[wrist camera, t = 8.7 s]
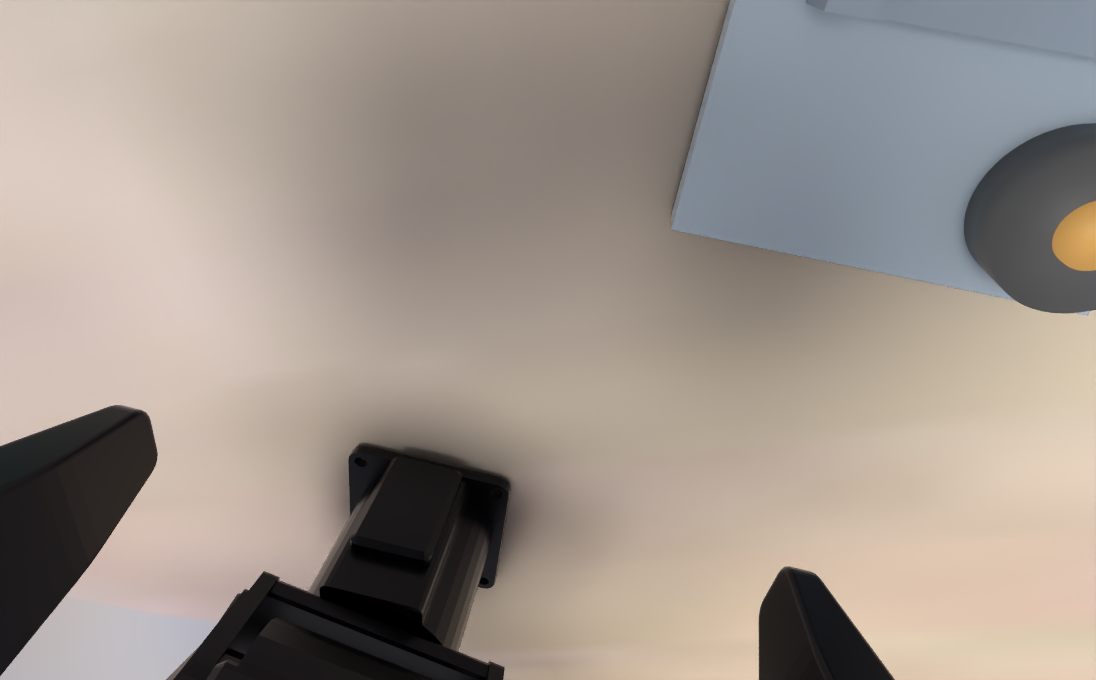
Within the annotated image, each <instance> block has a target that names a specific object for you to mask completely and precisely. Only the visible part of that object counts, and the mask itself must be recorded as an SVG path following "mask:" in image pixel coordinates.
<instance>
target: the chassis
mask: <svg viewBox="0 0 1096 680" xmlns="http://www.w3.org/2000/svg"><path fill="white" fill-rule="evenodd" d="M672 230H675V231H680V232H685V233H690V234H694V235H699V236H704V237H709V238H714V239H719V240H724V241H728V242H733V243H738V244H743V245H748V246H753V247H758V248H762V249H767V250H772V251H777V252H782V253H787V254H792V255H796V256H801V257H806V258H811V259H816V260H821V261H826V262H830V263H835V264H840V265H845V266H850V267H855V268H859V269H864V270H869V271H874V272H879V273H884V274H889V275H893V276H898V277H903V278H908V279H913V280H918V281H923V282H927V283H932V284H937V285H942V286H947V287H952V288H957V289H961V290H966V291H971V292H976V293H981V294H986V295H991V296H995V297H1000V298H1005V299H1010V300H1015V301H1017V302H1019V303H1021V304H1023V305H1025V306H1027V307H1030V308H1033V309H1036V310H1040V311H1045V312H1051V313H1078V314H1083V315H1088V313H1089V312H1090V311H1092V310H1096V0H730V2H729V6H728V10H727V13H726V17H725V21H724V24H723V28H722V32H721V35H720V39H719V43H718V46H717V50H716V54H715V57H714V61H713V65H712V68H711V72H710V76H709V79H708V83H707V87H706V90H705V94H704V98H703V101H702V105H701V108H700V112H699V116H698V119H697V123H696V127H695V130H694V134H693V138H692V141H691V145H690V149H689V152H688V156H687V160H686V163H685V167H684V171H683V174H682V178H681V182H680V185H679V189H678V193H677V196H676V200H675V204H674V207H673V211H672Z"/></svg>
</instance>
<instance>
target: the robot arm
mask: <svg viewBox="0 0 1096 680" xmlns="http://www.w3.org/2000/svg"><path fill="white" fill-rule="evenodd" d="M157 455H158V453H157V448H156V443H155V439H154V434H153V429H152V425H151V420H150V417H149V416H148V414H147V413H146V412H144V411H142V410H139V409H135V408H131V407H126V406H122V405H114V406H110V407H107V408H104V409H101V410H99V411H96V412H93V413H90V414H88V415H85V416H82V417H79V418H77V419H74V420H71V421H68V422H66V423H63V424H60V425H57V426H55V427H52V428H49V429H46V430H44V431H41V432H38V433H35V434H32V435H30V436H27V437H24V438H21V439H19V440H16V441H13V442H10V443H8V444H5V445H2V446H0V676H1V674H2V673H3V672H4V671H5V670H6V668H7V667H8V666H9V665H10V663H11V662H12V661H13V659H14V658H15V657H16V656H17V655H18V654H19V652H20V651H21V650H22V649H23V647H24V646H25V645H26V644H27V642H28V641H29V640H30V639H31V638H32V636H33V635H34V634H35V633H36V631H37V630H38V629H39V627H40V626H41V625H42V624H43V623H44V621H45V620H46V619H47V618H48V617H49V615H50V614H51V613H52V612H53V610H54V609H55V608H56V607H57V606H58V604H59V603H60V602H61V601H62V599H63V598H64V597H65V596H66V594H67V593H68V592H69V591H70V590H71V588H72V587H73V586H74V585H75V583H76V582H77V581H78V580H79V578H80V577H81V576H82V574H83V573H84V572H85V571H86V569H87V568H88V567H89V565H90V564H91V563H92V561H93V560H94V558H95V557H96V556H97V554H98V553H99V551H100V550H101V548H102V547H103V545H104V544H105V542H106V541H107V539H108V538H109V536H110V535H111V533H112V532H113V530H114V529H115V527H116V526H117V524H118V523H119V521H120V520H121V518H122V517H123V515H124V514H125V512H126V511H127V509H128V508H129V506H130V505H131V503H132V502H133V500H134V499H135V497H136V496H137V494H138V493H139V491H140V490H141V488H142V487H143V485H144V484H145V482H146V481H147V479H148V478H149V476H150V475H151V473H152V471H153V470H154V467H155V465H156V462H157ZM362 458H363V459H364V460H363V459H362ZM349 486H350V515H351V516H350V518H349V520H348V521H347V523H346V525H345V527H344V529H343V530H342V532H341V534H340V536H339V537H338V539H337V541H336V543H335V545H334V546H333V548H332V550H331V552H330V553H329V555H328V557H327V559H326V561H325V562H324V564H323V566H322V568H321V569H320V571H319V573H318V575H317V577H316V578H315V580H314V582H313V584H312V586H311V587H310V589H309V591H308V592H307V591H305V590H302V589H300V588H297V587H295V586H292V585H290V584H287V583H285V582H282V581H280V580H279V578H280V577H278V576H275V575H273V574H270V573H268V572H265V571H264V572H263V573H262V574H261V576H260V577H259V578H258V579H257V581H256V582H255V583H254V585H253V586H252V587H251V588H250V590H246V589H245V590H244V591H243V592H242V593H241V594H237V596H236V597H235V599H234V600H233V602H232V603H231V605H230V606H229V608H228V609H227V611H226V612H225V614H224V615H223V617H222V618H221V619H220V621H219V622H218V624H217V625H216V626H215V627H214V629H213V630H212V631H211V633H210V634H209V635H208V636H207V638H206V639H205V640H204V642H203V643H202V644H201V645H200V646H199V647H198V648H197V649H196V650H195V651H194V652H193V653H192V654H191V655H190V656H189V657H188V658H187V659H186V660H185V661H184V662H183V663H182V664H181V665H180V666H179V667H178V668H177V669H176V670H175V671H174V672H173V673H172V674H171V675H170V676H169V677H168V678H167V679H166V680H503V676H504V667H503V666H500V665H498V664H495V663H493V662H489V663H485V662H483V661H480V660H478V659H475V658H473V657H470V656H468V655H465V654H463V653H460V652H458V651H459V647H460V644H461V641H462V637H463V634H464V631H465V627H466V624H467V621H468V617H469V614H470V611H471V607H472V604H473V601H474V598H475V594H476V591H477V588H478V587H480V588H491V587H492V586H493V585H494V583H495V579H496V576H497V570H498V564H499V558H500V552H501V546H502V540H503V534H504V528H505V522H506V516H507V510H508V504H509V498H510V492H511V486H510V484H509V483H508V482H507V481H506V480H505V479H502V478H499V477H495V476H490V475H486V474H482V473H477V472H473V471H469V470H465V469H460V468H456V467H452V466H447V465H443V464H439V463H434V462H430V461H426V460H422V459H417V458H413V457H409V456H404V455H400V454H396V453H391V452H387V451H383V450H379V449H374V448H370V447H366V446H358V447H356V448H355V449H354V450H353V451H352V453H351V454H350V456H349ZM494 489H497V490H499V491H496V490H494ZM759 680H895V679H894V678H893V676H892V675H891V674H890V672H889V671H888V670H887V668H886V667H885V666H884V664H883V663H882V661H881V660H880V659H879V657H878V656H877V655H876V653H875V652H874V651H873V649H872V648H871V647H870V645H869V644H868V643H867V641H866V640H865V638H864V637H863V636H862V634H861V633H860V632H859V630H858V629H857V628H856V626H855V625H854V624H853V622H852V621H851V620H850V618H849V617H848V615H847V614H846V613H845V611H844V610H843V609H842V607H841V606H840V605H839V603H838V602H837V601H836V599H835V598H834V597H833V595H832V594H831V592H830V591H829V590H828V588H827V587H826V586H825V584H824V583H823V582H822V580H821V579H820V578H819V577H818V576H817V575H816V574H815V573H813V572H810V571H806V570H802V569H798V568H793V567H784V568H782V569H781V570H780V572H779V573H778V575H777V577H776V579H775V580H774V582H773V584H772V586H771V587H770V589H769V591H768V593H767V594H766V596H765V598H764V600H763V602H762V604H761V607H760V612H759Z"/></svg>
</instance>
